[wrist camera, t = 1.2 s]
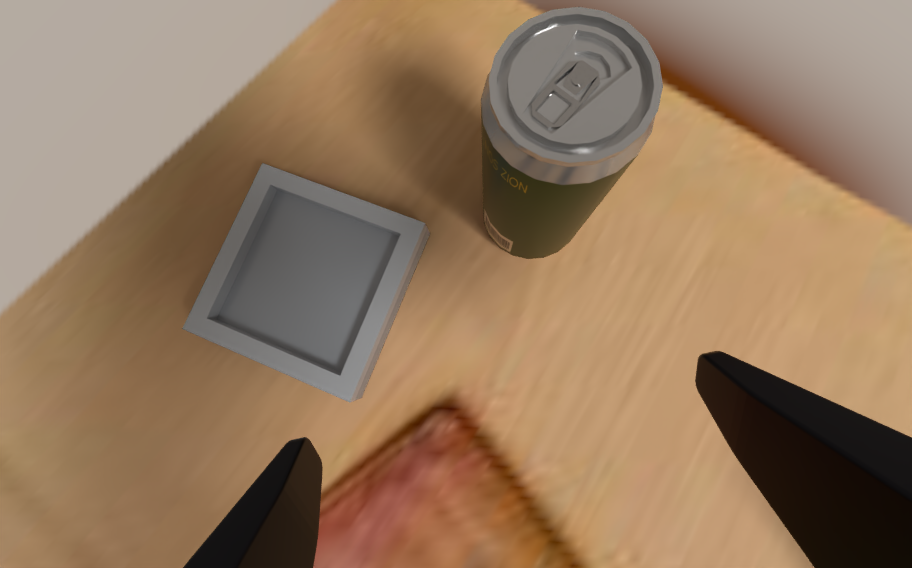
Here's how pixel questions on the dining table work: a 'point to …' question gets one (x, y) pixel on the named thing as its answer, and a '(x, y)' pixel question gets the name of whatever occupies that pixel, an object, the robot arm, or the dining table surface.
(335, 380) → the coaster
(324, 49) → the dining table surface
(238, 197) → the dining table surface
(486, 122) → the green soda can
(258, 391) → the dining table surface
